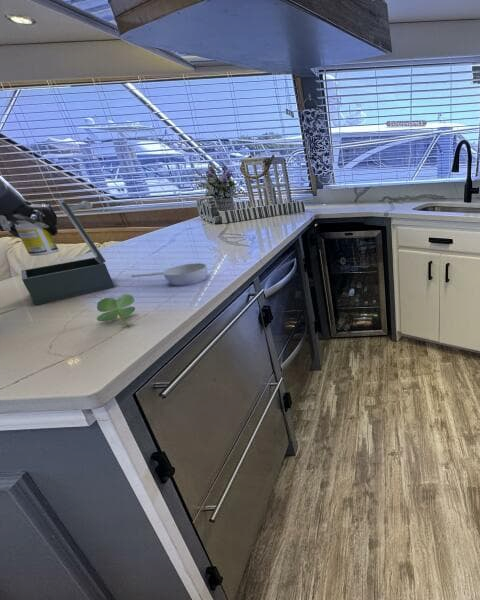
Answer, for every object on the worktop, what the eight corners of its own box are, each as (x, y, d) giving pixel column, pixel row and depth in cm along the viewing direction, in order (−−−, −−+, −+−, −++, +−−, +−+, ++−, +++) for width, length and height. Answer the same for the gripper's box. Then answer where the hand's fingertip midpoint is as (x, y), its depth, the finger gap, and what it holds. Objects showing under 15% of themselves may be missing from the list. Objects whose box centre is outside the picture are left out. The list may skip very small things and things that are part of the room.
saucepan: (207, 282, 91) (203, 269, 89) (130, 294, 84) (125, 280, 83) (211, 272, 100) (207, 260, 98) (142, 282, 93) (137, 269, 92)
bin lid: (61, 202, 79) (89, 196, 83) (56, 200, 87) (82, 194, 90) (102, 262, 87) (126, 254, 91) (95, 255, 95) (117, 248, 99)
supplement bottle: (52, 250, 86) (34, 213, 82) (63, 251, 84) (46, 213, 80) (24, 255, 81) (4, 216, 77) (36, 257, 79) (16, 216, 75)
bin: (35, 305, 80) (21, 279, 77) (33, 294, 88) (20, 270, 85) (114, 286, 91) (105, 263, 88) (106, 278, 98) (97, 256, 96)
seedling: (130, 343, 70) (117, 323, 72) (157, 317, 70) (144, 298, 72) (94, 339, 63) (81, 317, 65) (125, 311, 63) (111, 289, 65)
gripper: (29, 172, 71) (75, 219, 86) (-65, 175, 66) (1, 225, 81) (28, 198, 69) (75, 242, 84) (-69, 204, 64) (0, 250, 78)
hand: (39, 234), depth 82 cm, fingers closed on supplement bottle, 5 cm apart
